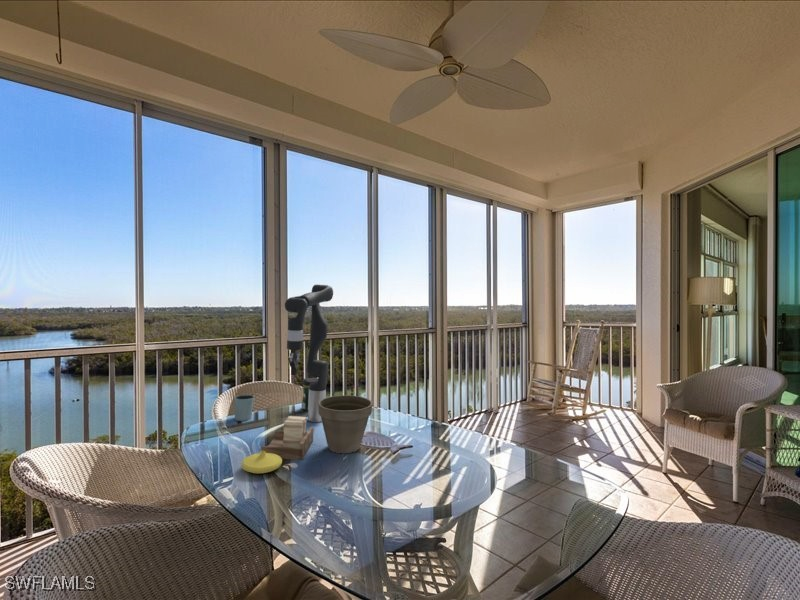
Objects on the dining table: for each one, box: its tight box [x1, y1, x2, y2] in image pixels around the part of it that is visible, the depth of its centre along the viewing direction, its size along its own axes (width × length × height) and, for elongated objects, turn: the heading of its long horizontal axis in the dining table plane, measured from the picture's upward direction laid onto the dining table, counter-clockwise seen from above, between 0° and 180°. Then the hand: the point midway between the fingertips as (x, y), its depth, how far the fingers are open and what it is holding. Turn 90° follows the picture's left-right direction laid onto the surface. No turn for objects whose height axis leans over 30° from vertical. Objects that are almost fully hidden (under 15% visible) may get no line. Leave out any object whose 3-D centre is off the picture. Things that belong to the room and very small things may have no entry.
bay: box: [260, 426, 315, 461], centre depth 188 cm, size 21×18×7 cm
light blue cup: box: [233, 394, 255, 422], centre depth 226 cm, size 10×10×12 cm
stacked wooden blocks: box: [283, 415, 308, 448], centre depth 188 cm, size 8×8×12 cm
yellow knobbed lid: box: [240, 450, 283, 475], centre depth 167 cm, size 16×16×7 cm
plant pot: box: [318, 394, 373, 455], centre depth 193 cm, size 25×25×22 cm
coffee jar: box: [301, 377, 318, 411], centre depth 250 cm, size 10×8×19 cm
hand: (293, 374), depth 201 cm, fingers closed
